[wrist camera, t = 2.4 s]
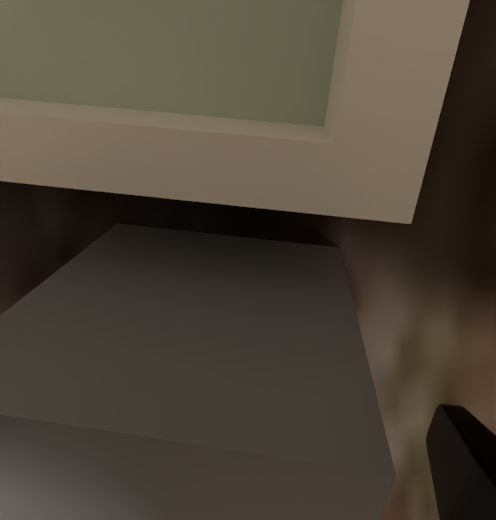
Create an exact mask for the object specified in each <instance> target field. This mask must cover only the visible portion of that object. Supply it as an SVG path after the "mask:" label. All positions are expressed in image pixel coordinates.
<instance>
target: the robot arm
mask: <svg viewBox="0 0 496 520" xmlns="http://www.w3.org/2000/svg"><path fill="white" fill-rule="evenodd" d="M426 446H427V452H428V458H429V463H430V469H431V474H432V480H433V485H434V491H435V497H436V502H437V508H438V513H439V518H440V520H496V435H495V434H494V433H493V432H491V431H490V430H489V429H488V428H487V427H486V426H485V425H483V424H482V423H481V422H480V421H479V420H478V419H477V418H476V417H474V416H473V415H472V414H471V413H470V412H469V411H468V410H466V409H465V408H464V407H462V406H458V405H451V404H440V405H438V406H437V408H436V410H435V413H434V416H433V419H432V421H431V424H430V427H429V429H428V432H427V437H426Z"/></svg>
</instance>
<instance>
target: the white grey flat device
mask: <svg viewBox="0 0 496 520" xmlns="http://www.w3.org/2000/svg"><path fill="white" fill-rule="evenodd" d="M469 2H470V0H0V181H5V182H14V183H24V184H33V185H43V186H52V187H62V188H71V189H81V190H90V191H100V192H110V193H119V194H129V195H138V196H148V197H157V198H167V199H176V200H186V201H195V202H205V203H214V204H224V205H233V206H243V207H252V208H262V209H271V210H281V211H290V212H300V213H309V214H319V215H329V216H338V217H348V218H357V219H367V220H376V221H386V222H395V223H405V224H411V223H412V219H413V215H414V211H415V207H416V204H417V200H418V196H419V192H420V188H421V185H422V181H423V177H424V173H425V169H426V166H427V162H428V158H429V154H430V150H431V147H432V143H433V139H434V135H435V131H436V128H437V124H438V120H439V116H440V112H441V108H442V105H443V101H444V97H445V93H446V89H447V86H448V82H449V78H450V74H451V70H452V67H453V63H454V59H455V55H456V51H457V48H458V44H459V40H460V36H461V32H462V29H463V25H464V21H465V17H466V13H467V10H468V6H469Z"/></svg>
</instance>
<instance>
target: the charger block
mask: <svg viewBox="0 0 496 520" xmlns="http://www.w3.org/2000/svg"><path fill="white" fill-rule="evenodd" d="M395 476H396V474H395V469H394V465H393V461H392V457H391V453H390V449H389V445H388V441H387V437H386V433H385V429H384V425H383V421H382V417H381V413H380V409H379V404H378V400H377V396H376V392H375V388H374V384H373V380H372V376H371V372H370V368H369V364H368V360H367V356H366V352H365V348H364V343H363V339H362V335H361V331H360V327H359V323H358V319H357V315H356V311H355V307H354V303H353V299H352V295H351V291H350V287H349V283H348V278H347V274H346V270H345V266H344V262H343V258H342V254H341V250H340V248H338V247H329V246H320V245H311V244H302V243H293V242H283V241H274V240H265V239H256V238H247V237H238V236H229V235H220V234H210V233H201V232H192V231H183V230H174V229H165V228H156V227H147V226H137V225H128V224H119V223H117V224H116V225H115V226H113V227H112V228H111V229H109V230H108V231H107V232H106V233H104V234H103V235H102V236H101V237H99V238H98V239H97V240H95V241H94V242H93V243H92V244H90V245H89V246H88V247H87V248H85V249H84V250H83V251H81V252H80V253H79V254H78V255H76V256H75V257H74V258H73V259H71V260H70V261H69V262H67V263H66V264H65V265H64V266H62V267H61V268H60V269H59V270H57V271H56V272H55V273H54V274H52V275H51V276H50V277H48V278H47V279H46V280H45V281H43V282H42V283H41V284H40V285H38V286H37V287H36V288H34V289H33V290H32V291H31V292H29V293H28V294H27V295H26V296H24V297H23V298H22V299H20V300H19V301H18V302H17V303H15V304H14V305H13V306H12V307H10V308H9V309H8V310H6V311H5V312H4V313H3V314H1V315H0V520H381V517H382V514H383V511H384V508H385V505H386V502H387V499H388V496H389V493H390V490H391V487H392V485H393V482H394V479H395Z"/></svg>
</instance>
